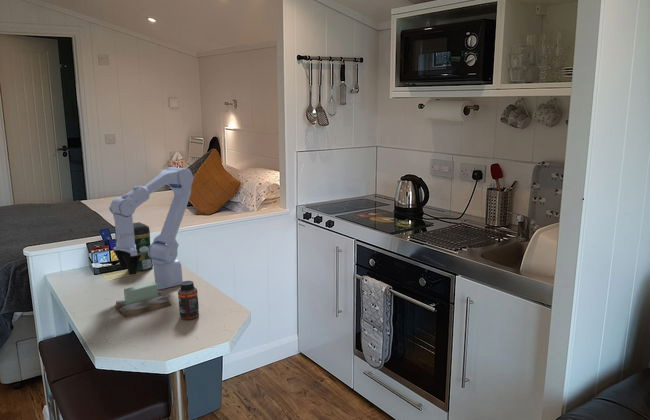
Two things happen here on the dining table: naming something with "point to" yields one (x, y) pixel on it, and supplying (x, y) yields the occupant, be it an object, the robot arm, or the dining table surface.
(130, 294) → the pale green block
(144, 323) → the dining table surface
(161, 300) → the brown shallow piece
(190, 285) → the supplement bottle
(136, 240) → the coffee jar
